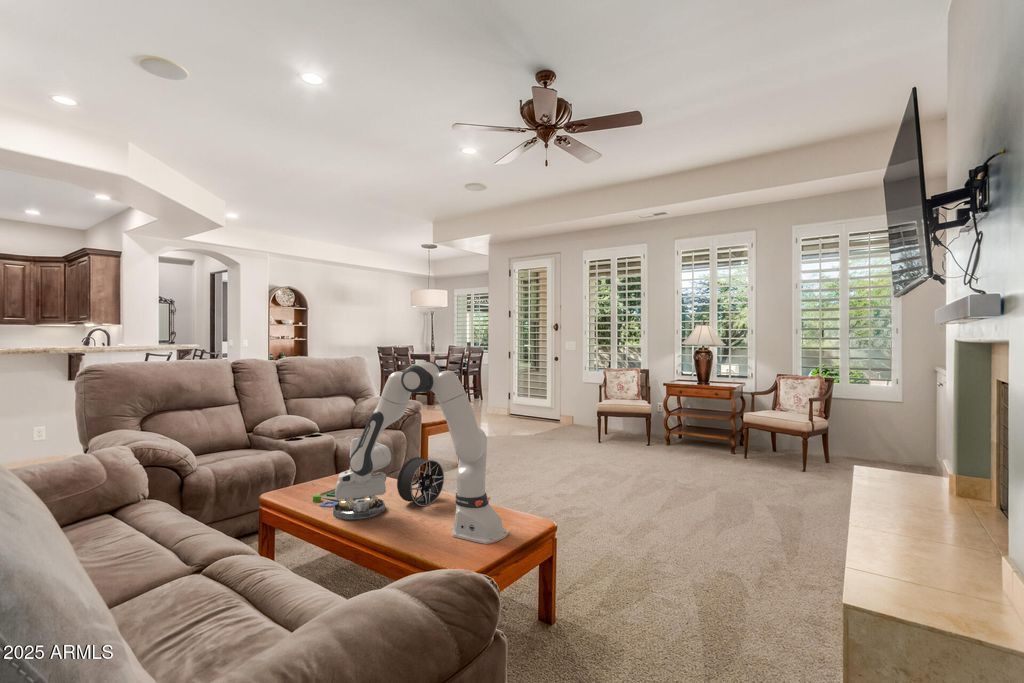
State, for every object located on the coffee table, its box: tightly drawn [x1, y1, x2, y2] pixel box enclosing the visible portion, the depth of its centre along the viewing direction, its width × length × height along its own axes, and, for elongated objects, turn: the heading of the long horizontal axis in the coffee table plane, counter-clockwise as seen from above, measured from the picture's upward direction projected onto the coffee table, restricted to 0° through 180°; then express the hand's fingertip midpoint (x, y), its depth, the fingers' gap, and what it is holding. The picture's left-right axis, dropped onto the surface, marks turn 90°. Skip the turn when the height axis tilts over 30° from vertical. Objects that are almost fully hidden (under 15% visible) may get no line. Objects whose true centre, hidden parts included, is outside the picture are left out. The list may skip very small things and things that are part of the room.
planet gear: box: [352, 499, 369, 513], centre depth 205 cm, size 7×7×4 cm
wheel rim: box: [396, 456, 445, 507], centre depth 222 cm, size 20×9×20 cm, turn 143°
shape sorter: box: [312, 487, 368, 508], centre depth 231 cm, size 34×19×5 cm, turn 152°
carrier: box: [332, 495, 386, 522], centre depth 210 cm, size 21×21×6 cm
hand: (360, 507), depth 205 cm, fingers closed on planet gear, 6 cm apart
